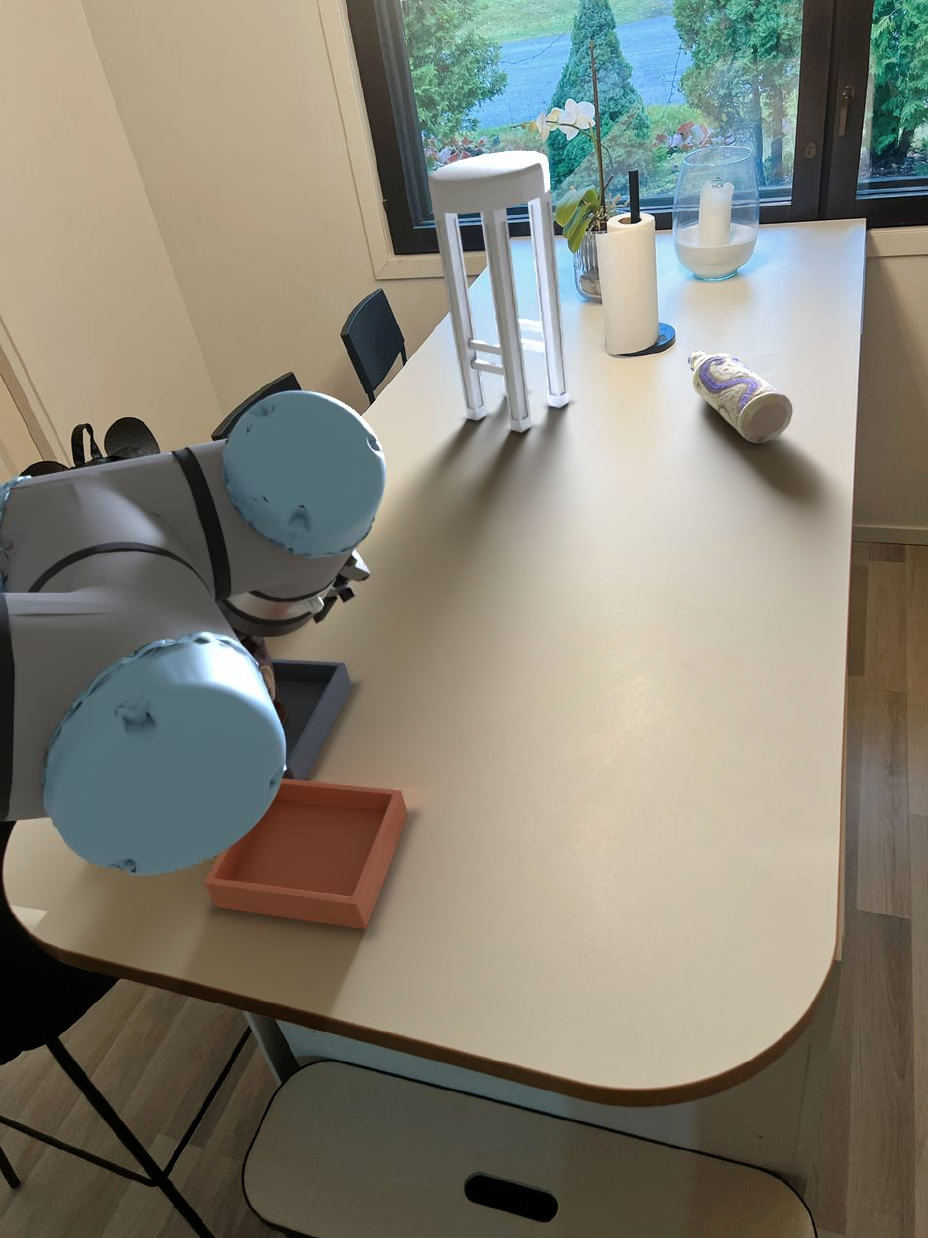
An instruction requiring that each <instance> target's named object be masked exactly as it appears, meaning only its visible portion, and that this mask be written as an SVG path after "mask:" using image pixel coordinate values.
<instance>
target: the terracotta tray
mask: <svg viewBox="0 0 928 1238" xmlns="http://www.w3.org/2000/svg"><path fill="white" fill-rule="evenodd" d="M408 817H409V812H408V809H407V806H406V803H405V798H404V795H403V792H402V790H401V789H396V788H395V789H394V788H386V787H375V786H363V785H354V784H343V783H333V782H322V781H312V780H305V781H302V780H291V779H282V780H281V785H280V787H279V789H278V791H277V794H276V796H275V798H274V800H273V802H272V803H271V805H270V807H269V808H268V810H267V811H266V813H265V814H264V815H263V817H262V818H261V819H260V820H259V822H258V823H257V824H256V825H255V826H254V827H253V828H252V829H251V830H250V831H249V832H248V833H247V834H246V835H245V836H243V837H242V838H241V839H240V840H239V841H237V842H236V843H235V844H233V845H232V846H231V847H229V848H228V849H226V850H225V851H223V852H222V853H220V854H218V855H217V858H215V859H216V860H215V861H214V863H213V865H212V867H211V869H210V870H209V872H208V874H207V876H206V878H205V879H204V881H203V885H204V888H205V889H206V892H207V893H208V895H209V896H210V898H211V900H212V902H213V903H214V905H215V907H216V908H219V909H226V910H233V911H239V912H246V913H253V914H260V915H267V916H273V917H280V918H287V919H294V920H301V921H308V922H314V923H320V924H321V923H323V924H329V925H335V926H342V927H347V928H356V929H362V930H366V929H367V927H368V925H369V922H370V919H371V917H372V914H373V911H374V909H375V906H376V903H377V901H378V898H379V896H380V893H381V890H382V888H383V884H384V882H385V879H386V877H387V874H388V871H389V869H390V865H391V863H392V860H393V858H394V855H395V852H396V849H397V847H398V844H399V843H400V842H399V841H400V839H401V836H402V834H403V830H404V828H405V825H406V822H407V820H408Z"/></svg>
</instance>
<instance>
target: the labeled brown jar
mask: <svg viewBox="0 0 928 1238" xmlns="http://www.w3.org/2000/svg"><path fill="white" fill-rule="evenodd" d="M234 632H235V631H234ZM240 643H241V644H242V646H243V647H245V649H246V650H247V651H248V652H249V653H250V654H251V656H252V657H253V658H254V659H255V660H256V661H257V663H258V667H259V670H260V672H261V674H262V676H263V681H264V684H265V686H266V689H267V691H268V694H269V696H270V698H271V701H272V703H273V706H274V708H275V710H276V713H277V715H278V718H279V720H280V723H281V725H282V726H283V724H284V723H285V719H286V717H287V712H286V710H285V708H284V705H283V704H282V702H281V700H280V699H279V697H278V689H277V687H276V684H275V681H274V670H273V666H272V660H271V659H272V658H271V656H270V652H269V650H268V647H267V644H266V640H265V637H257V636H252V635H248V636H247V637H245V638H244V639H243V640H242V641H240Z"/></svg>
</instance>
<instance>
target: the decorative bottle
mask: <svg viewBox="0 0 928 1238" xmlns="http://www.w3.org/2000/svg"><path fill="white" fill-rule="evenodd" d="M687 362H688V364H689V365H690V370H691V371H693V377H692V386H693V389H694V391H695V393H696V394H698V396H700V397H701V398H702V399H703V400H704V401H705V402H707V404H709V405H710V406H711V407H712V408H713V409H714V410H715V411H716V412H717V413H719V415H720V416H721V417H722V418H723V419H724V420H725V421H726V422H727V423H728V424H730V425H731V426H732V427H733V428H734V429H735V430H736V431H737V432H738V433H739V435H740V436H741V437H742V438H743V439H745V440H746V441H748V442H751V443H753V444H763V443H766V442H770V441H772V440H774V439H775V438H778V436H780V435H781V434H782V433H783V432H785V430H787V428H788V427H789V425H790V423H791V421H792V417H793V414H794V413H793V412H794V410H793V404H792V402H791V400H790V399H789V397H788V396H786V395H785V394H783V393H780V392H779V391H778V390H777V389H776V388H774V387H773V386H772V385H770V384H769V383H768V381H766V380H764V379H763V378H762V377H760V376H759V375H758V374H757V373H755V372H754V371H753V370H752V369H751V368H749V367H748V366H746V365H745V364H743V363H742V362H741V361H740V360H739V359H738V358H736V357H735V356H732V355H731V354H728V353H717V354H713V355H707V354H706V353H705V352H702V351H699V350H697V351H694V352H692V353H691V354H690V356H689V357H688V358H687Z"/></svg>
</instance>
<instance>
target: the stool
mask: <svg viewBox="0 0 928 1238" xmlns="http://www.w3.org/2000/svg"><path fill="white" fill-rule="evenodd" d="M547 157H548V156H546V155H545V154H542V153H539V152H537V151H535V150H509V151H503V152H494V153H486V154H481V155H477V156H473V157H468V158H463V159H460V160H457V161H454V162H451V163H448V164H445V165H443V166H440V167H438V168H437V169H436V170H435V171H433V172H432V173H431V174H430V175H429V176H428V178H427V181H428V182H427V183H428V189H429V196H430V201H431V207H432V213H433V218H434V219H433V220H434V225H435V231H436V237H437V238H436V239H437V243H438V249H439V256H440V261H441V267H442V273H443V279H444V285H445V286H444V287H445V292H446V298H447V303H448V309H449V315H450V321H451V322H450V323H451V327H452V333H453V338H454V345H455V352H456V358H457V364H458V369H459V376H460V381H461V382H460V383H461V387H462V393H463V399H464V406H465V412H466V418H467V419H470V420H474V421H479V420H481V419H483V418H485V417H486V416H487V415H488V409H487V402H486V397H485V391H484V390H485V389H484V384H483V377H482V372H486V373H490V374H495V375H499V376H502V381H503V387H504V395H505V396H506V405H507V412H508V418H509V425H510V430H511V431H515V432H518V433H523V432H525V431H526V430H528V429H530V428H531V427H532V426H533V425H532V415H531V407H530V401H529V391H528V383H527V374H526V367H525V365H526V364H525V358H524V357H525V356H524V350H525V351H530V352H536V353H540V354H542V355H543V363H544V373H545V382H546V391H547V402H548V406H550V407H554V408H558V409H560V408H563V406H565V405H566V404H568V403H569V402H570V396H569V386H568V375H567V364H566V352H565V341H564V328H563V317H562V307H561V296H560V286H559V285H560V284H559V283H560V282H559V273H558V261H557V249H556V238H555V227H554V226H555V225H554V216H553V205H552V203H553V202H552V194H551V182H550V171H549V170H550V169H549V159H548V158H547ZM524 204H527V208H528V217H529V228H530V236H531V237H530V238H531V245H532V246H531V247H532V257H533V265H534V266H533V267H534V274H535V277H534V278H535V285H536V294H537V303H538V314H539V321H533V320H529V319H521V318H520V316H519V315H520V314H519V308H518V307H519V306H518V299H517V290H516V283H515V282H516V281H515V274H514V273H515V272H514V267H513V266H514V265H513V256H512V247H511V240H510V232H509V224H508V223H509V222H508V214H507V208H512V207H516V206H519V205H520V206H521V205H524ZM478 213H480V217H481V218H480V219H481V226H482V233H483V241H484V247H485V253H486V254H485V255H486V256H485V257H486V261H487V262H486V263H487V269H488V277H489V285H490V293H491V300H492V306H493V307H492V308H493V314H494V315H493V316H494V321H495V330H496V335H497V336H496V337H497V343H496V342H492V341H491V342H490V341H485V340H480V339H477V338H476V331H475V323H474V317H473V310H472V303H471V297H470V290H469V283H468V277H467V269H466V263H465V257H464V250H463V245H462V243H463V242H462V237H461V230H460V223H459V218H458V215H469V214H478ZM521 331H528V332H532V333H538V334H540V335H541V341H536V340H532V339H531V340H530V339H525V338H522V333H521ZM479 352H483V353H488V354H492V355H497V356H499V359H500V363H497V362H491V361H487V360H483V359H480V357H479V356H480V355H479Z"/></svg>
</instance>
